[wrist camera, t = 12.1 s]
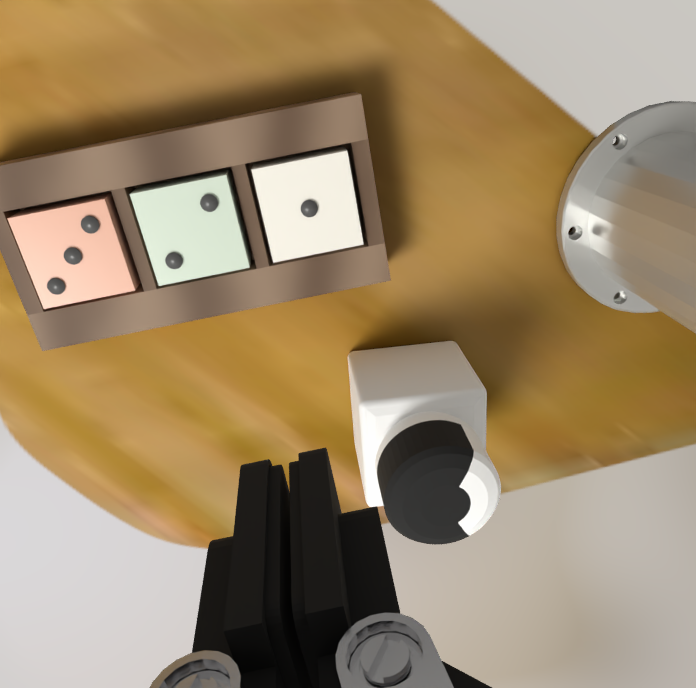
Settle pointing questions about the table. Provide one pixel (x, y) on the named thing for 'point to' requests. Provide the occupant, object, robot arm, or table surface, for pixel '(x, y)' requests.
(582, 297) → the table surface
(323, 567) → the robot arm
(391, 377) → the medicine bottle
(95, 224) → the button three terracotta
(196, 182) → the button two sage
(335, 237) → the button one cream
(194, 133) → the button board
